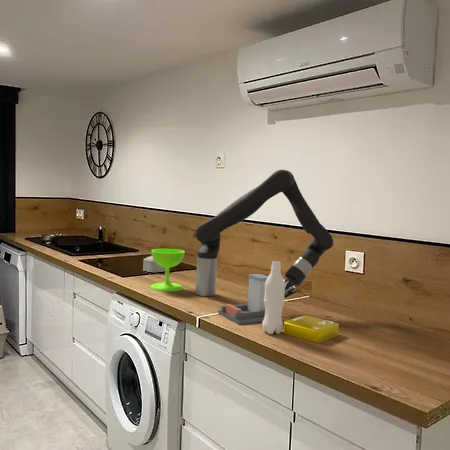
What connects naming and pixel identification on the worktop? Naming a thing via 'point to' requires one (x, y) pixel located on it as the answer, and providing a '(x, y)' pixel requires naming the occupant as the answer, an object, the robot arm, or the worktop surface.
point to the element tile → (311, 328)
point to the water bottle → (274, 300)
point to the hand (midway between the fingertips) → (272, 302)
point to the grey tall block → (256, 292)
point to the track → (241, 314)
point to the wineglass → (167, 267)
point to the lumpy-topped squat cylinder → (152, 265)
